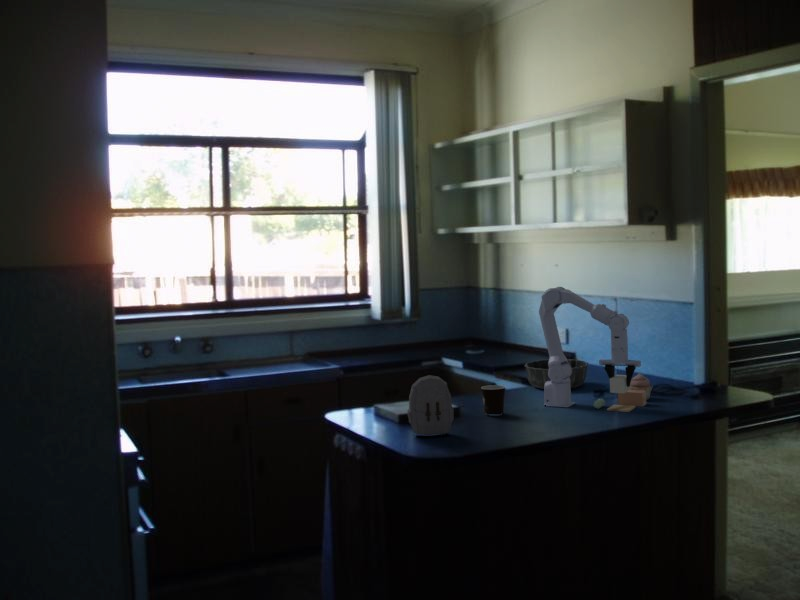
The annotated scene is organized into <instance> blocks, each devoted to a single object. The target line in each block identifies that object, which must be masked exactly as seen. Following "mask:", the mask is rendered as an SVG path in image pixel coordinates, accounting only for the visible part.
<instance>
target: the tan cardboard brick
mask: <svg viewBox="0 0 800 600" xmlns="http://www.w3.org/2000/svg"><path fill="white" fill-rule="evenodd" d="M617 405H629V406H635V407H644V406H646V405H647V400H646V390H629V391H627V392H626V393H617Z"/></svg>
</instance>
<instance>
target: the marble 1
mask: <svg viewBox="0 0 800 600" xmlns="http://www.w3.org/2000/svg"><path fill="white" fill-rule="evenodd" d="M593 407H594V408H595V409H597V410H599V409H601V408H602V407H603V406H602V403H601V401H599V400H598V399H597V400H595V401H593Z"/></svg>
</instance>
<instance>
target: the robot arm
mask: <svg viewBox="0 0 800 600" xmlns="http://www.w3.org/2000/svg"><path fill="white" fill-rule="evenodd" d="M565 304H572V305H573V306H575V307H578V308H580V309H582V310H584V311H586V312H588V313H589V315H590V316H591V318H592V319H594V320H595V321H598V322H599V323H601V324H603V325H604V326H607V327H608V329H609V330H610V347H611V348H610V353H611V354H610V355H611V359H610V358H609V359H608V358H607V359H599V360H598V363H599V364H598V365H599V366H604V367H603V369H604V370H605V372H606V374H607V377H608V378H609V380H610V378H612V377H614V376H615V369H616V368H615V367H625V368H624V369H625V375H626V377H627V381H626V384H627V387H629V386H630V383H631V380H632V378H633V375H634V373H635V370H636V367H637V368H641V367H642V361H641V360H634V359H629V349H628V348H629V347H628V346H629V344H628V339H629V338H628V326H629V324H630V321H629V318H628V316H626V315H625V314H624V313H618V311H617V310H613V309H610V308H608V307H607V304H605V303H603V304H600V303H597V304H593V303H592V302H591V301H589V300H588V299H586V298H584V297H582V296H580V295H579V294H577V293H575V292H574V291H572V290H570V289H567V288H564V287H563V286H557V287H552V288H551V287H550V288H547V289H546V290H545V291H544V292H543V294H542V295H541V302H540V305H539V310H538V315H539V319H540V322H541V323H540V324H541V326H542V331H543V336H544V339H545V344H546V347H547V351H548V356H549V362H548V366H549V370H548V376H549V378H550V379H551V381H547V382H546V383H545V385H544V390H543V395H544V397H543V398H544V399H543V400H544V403H543V406H544V405H546V406H545V407H555V408H556V407H558V408H569V407H571V406H573V405H574V404H575V403H576V402H575V401H572V392H571V390H572V389H571V386H570V378H569V377H570V376H571V374H572V367H571V366H570V364H569V363H568V361H567V359H568V358H567V356H566V355H565V354H564V350H563V347H562V343H561V342H562V341H561V338H560V335H559V334H560V333H559V329H558V326H557V322H556V317H555V313H556V311H557V310H558V308H559V307H560V306H562V305H565Z"/></svg>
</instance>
